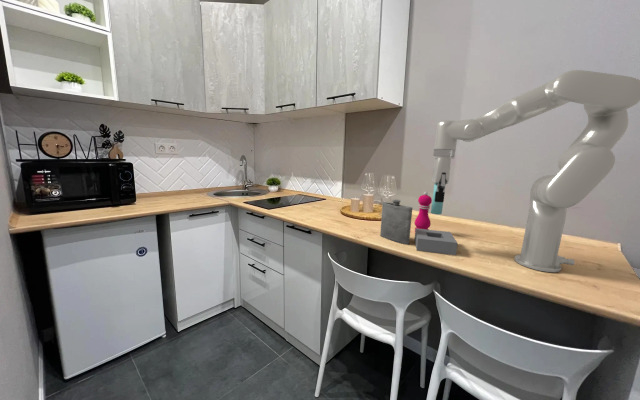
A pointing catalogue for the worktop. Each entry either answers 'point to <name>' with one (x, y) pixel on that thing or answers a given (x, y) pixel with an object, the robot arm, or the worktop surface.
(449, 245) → the socket block
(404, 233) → the flask
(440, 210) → the peg
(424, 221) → the pepper mill
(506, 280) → the worktop surface
